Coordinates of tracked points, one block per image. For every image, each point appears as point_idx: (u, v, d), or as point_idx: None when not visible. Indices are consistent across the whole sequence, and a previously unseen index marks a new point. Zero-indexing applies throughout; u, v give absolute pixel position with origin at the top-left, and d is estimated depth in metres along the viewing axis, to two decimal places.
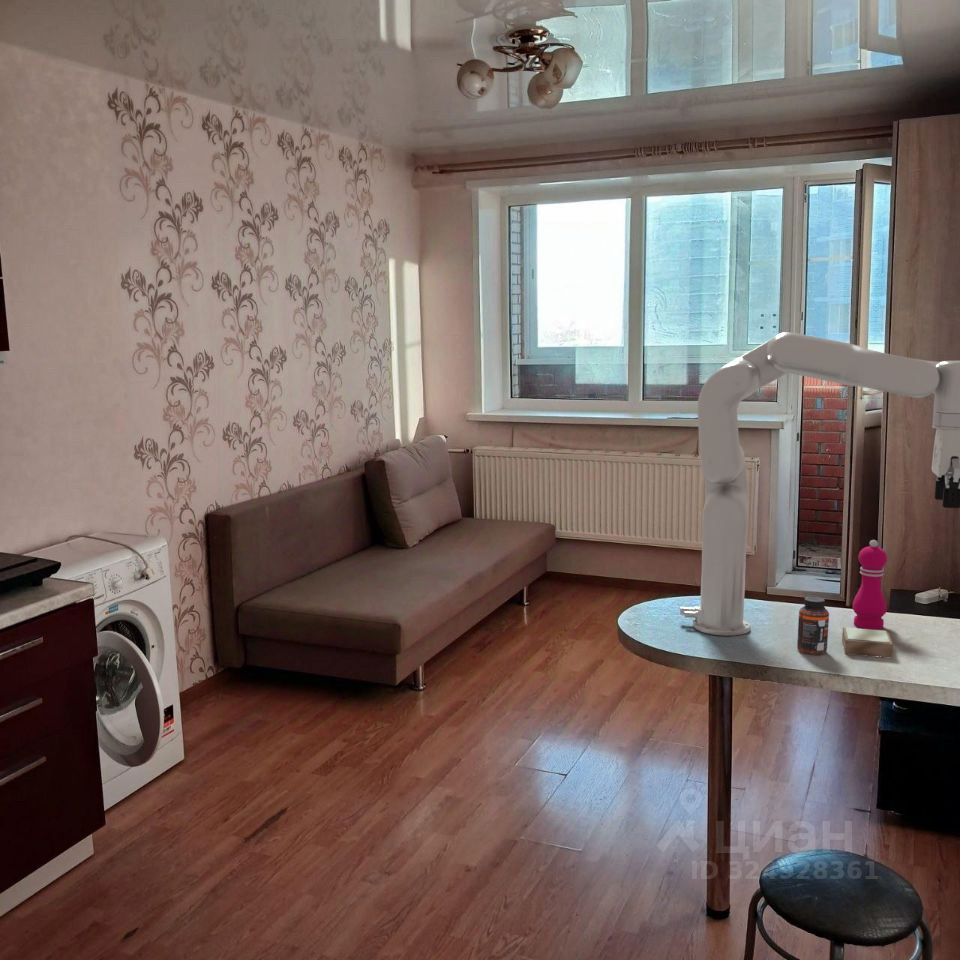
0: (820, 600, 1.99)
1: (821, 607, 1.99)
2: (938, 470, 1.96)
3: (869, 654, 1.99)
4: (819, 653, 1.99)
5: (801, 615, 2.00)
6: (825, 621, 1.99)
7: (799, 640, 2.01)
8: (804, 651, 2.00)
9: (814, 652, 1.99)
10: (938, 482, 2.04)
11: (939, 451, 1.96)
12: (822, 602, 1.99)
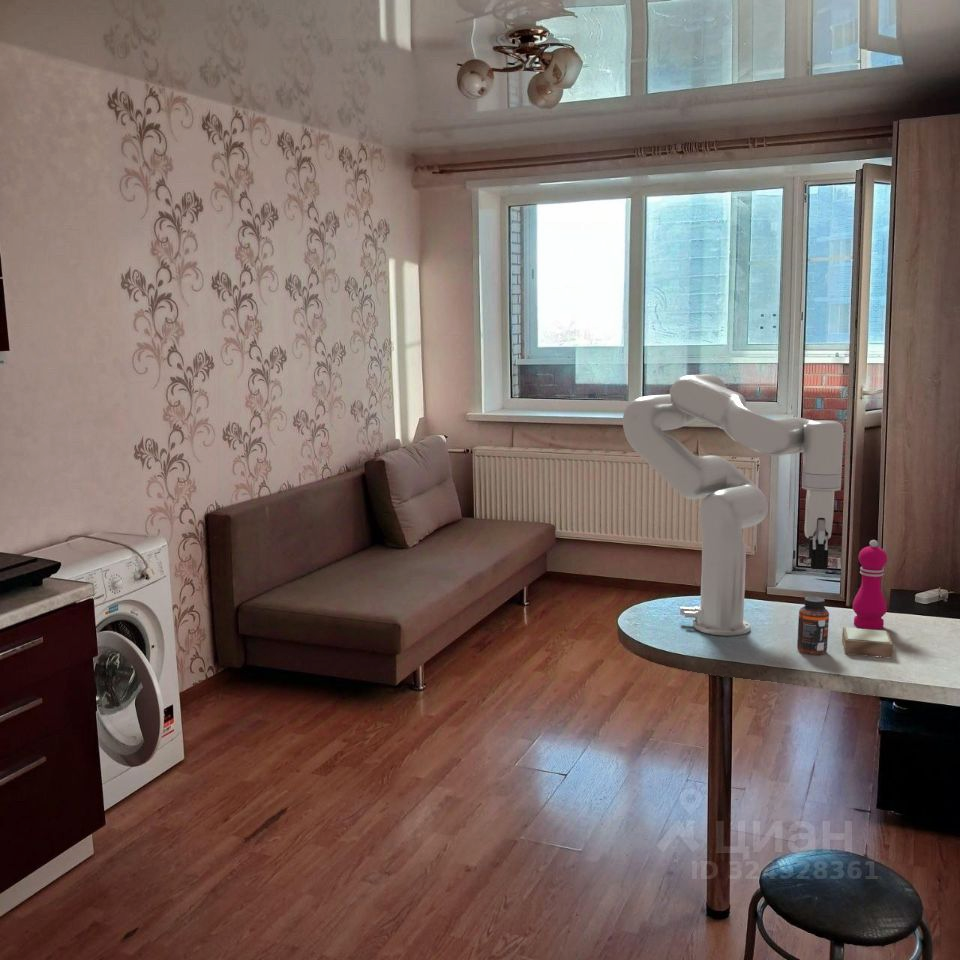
0: (820, 600, 1.99)
1: (821, 607, 1.99)
2: (806, 531, 1.95)
3: (869, 654, 1.99)
4: (819, 653, 1.99)
5: (801, 615, 2.00)
6: (825, 621, 1.99)
7: (799, 640, 2.01)
8: (804, 651, 2.00)
9: (814, 652, 1.99)
10: (811, 541, 2.03)
11: (807, 512, 1.95)
12: (822, 602, 1.99)
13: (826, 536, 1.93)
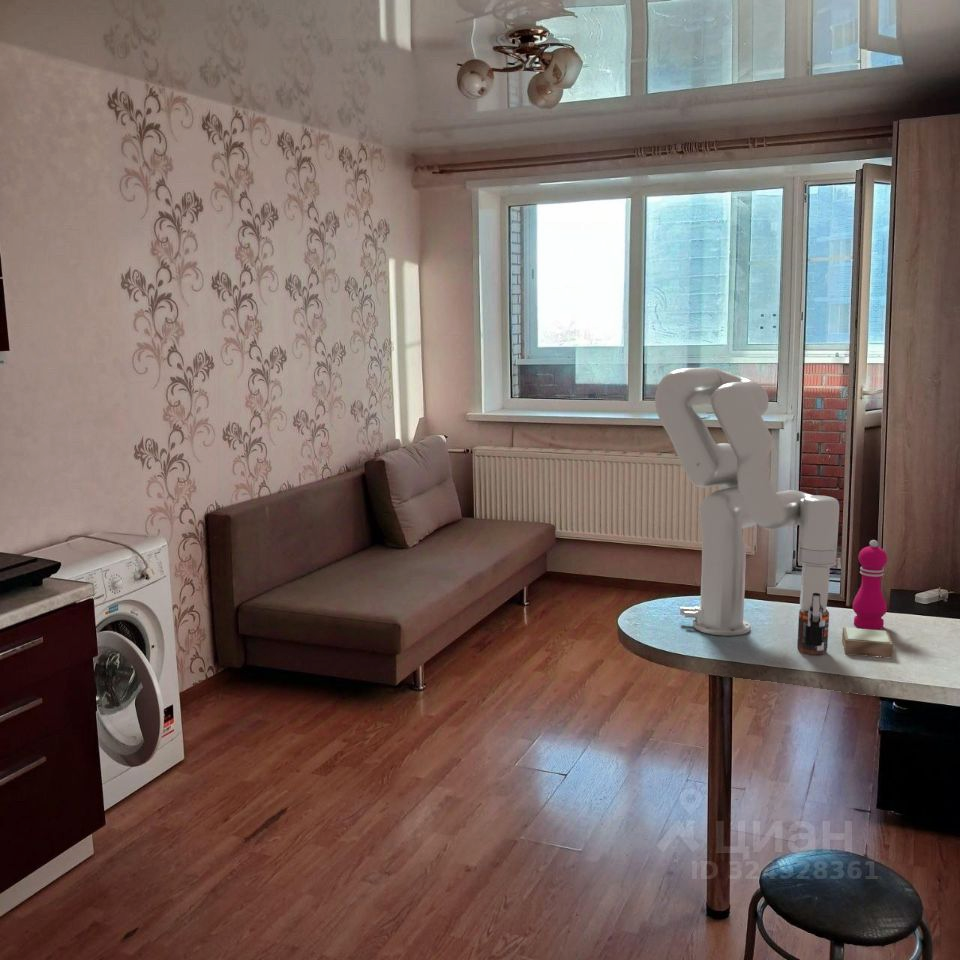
0: None
1: None
2: (801, 605, 1.97)
3: (869, 654, 1.99)
4: (819, 653, 1.99)
5: (801, 615, 2.00)
6: (825, 621, 1.99)
7: (799, 640, 2.01)
8: (804, 651, 2.00)
9: (814, 652, 1.99)
10: None
11: (802, 586, 1.97)
12: None
13: (821, 613, 1.97)
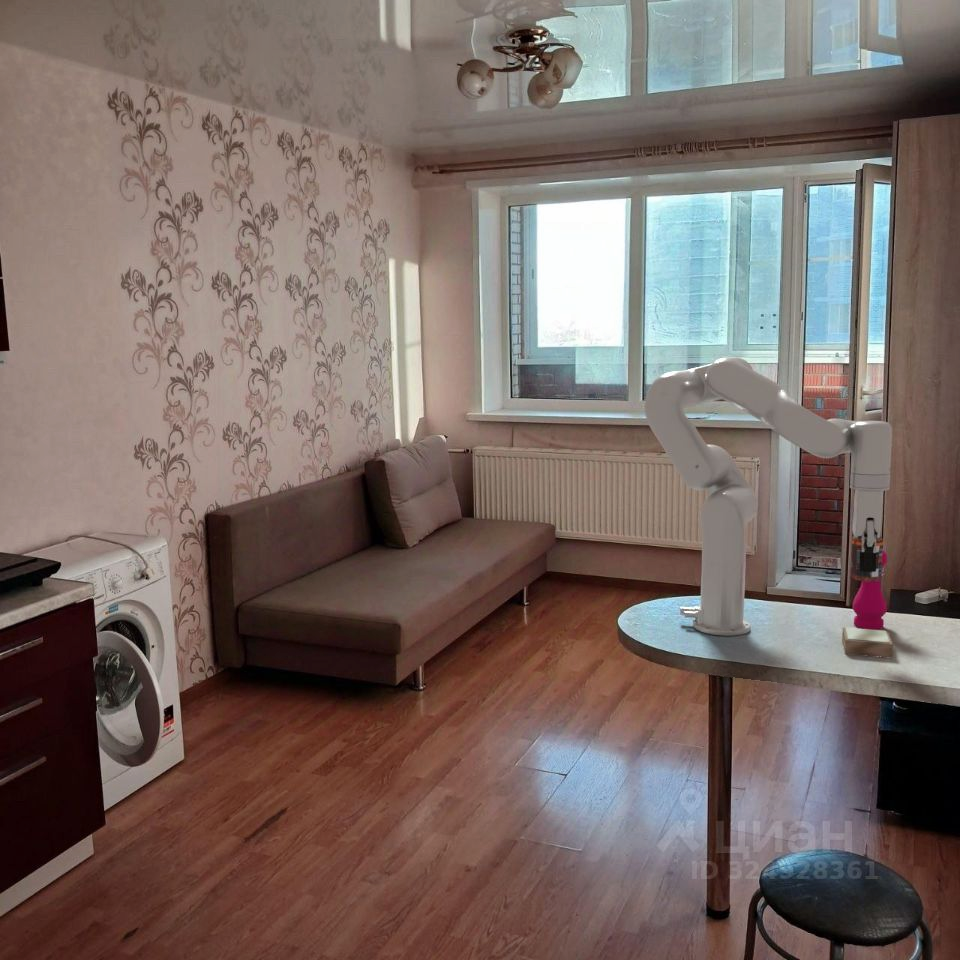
0: None
1: None
2: (855, 531, 1.96)
3: (869, 654, 1.99)
4: (874, 579, 1.98)
5: (855, 542, 1.99)
6: (879, 547, 1.97)
7: (853, 567, 2.00)
8: (858, 578, 1.99)
9: (869, 578, 1.98)
10: None
11: (855, 512, 1.96)
12: None
13: (875, 538, 1.95)
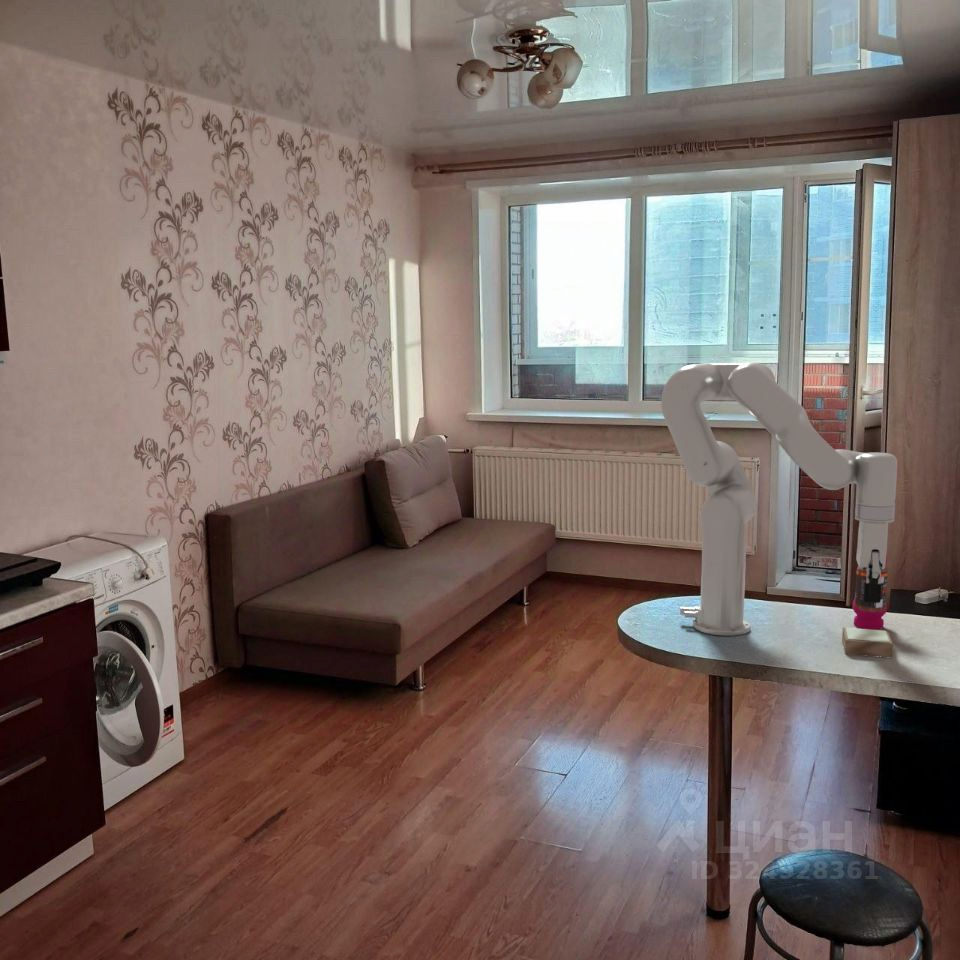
0: None
1: None
2: (860, 562, 1.97)
3: (869, 654, 1.99)
4: (878, 610, 1.99)
5: (859, 572, 2.00)
6: (884, 578, 1.98)
7: (857, 598, 2.01)
8: (862, 608, 2.00)
9: (873, 609, 1.99)
10: None
11: (860, 543, 1.97)
12: None
13: (879, 570, 1.97)
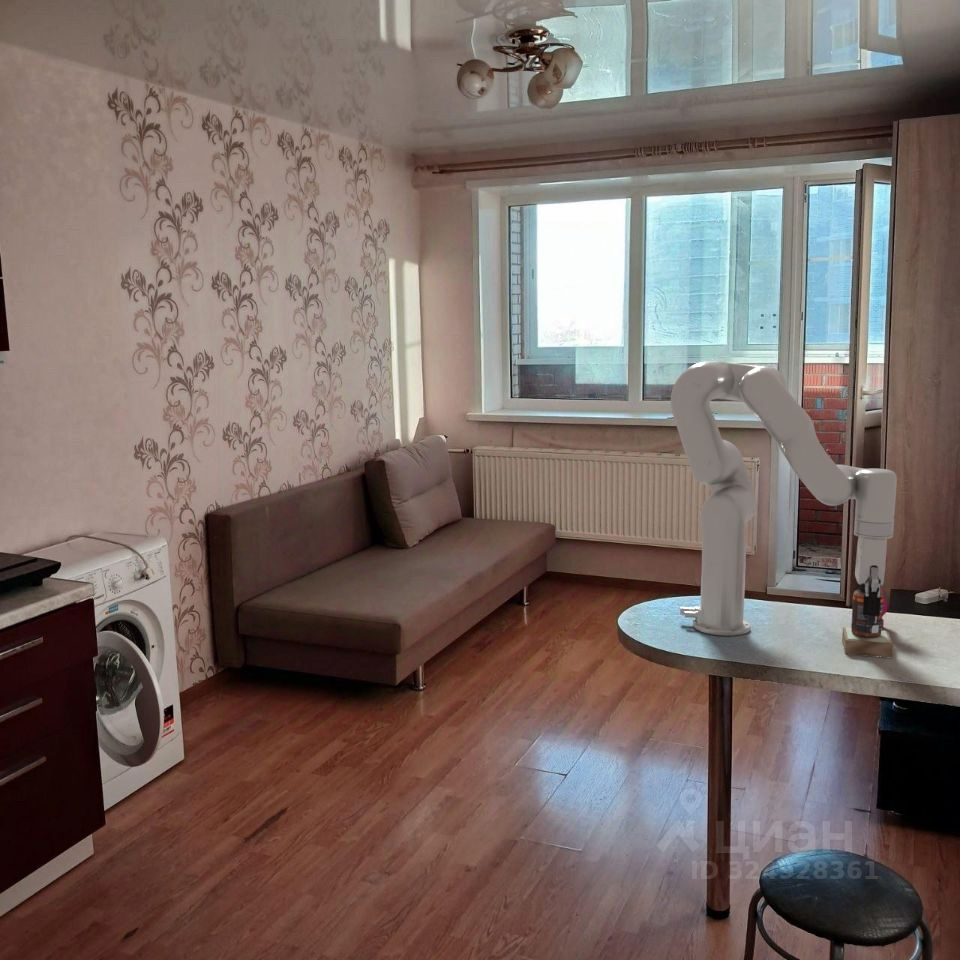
0: None
1: None
2: (858, 578, 1.98)
3: (869, 654, 1.99)
4: (874, 636, 2.00)
5: (855, 598, 2.01)
6: (880, 604, 2.00)
7: (853, 623, 2.02)
8: (858, 634, 2.01)
9: (869, 635, 2.00)
10: None
11: (859, 559, 1.98)
12: None
13: (878, 583, 1.96)
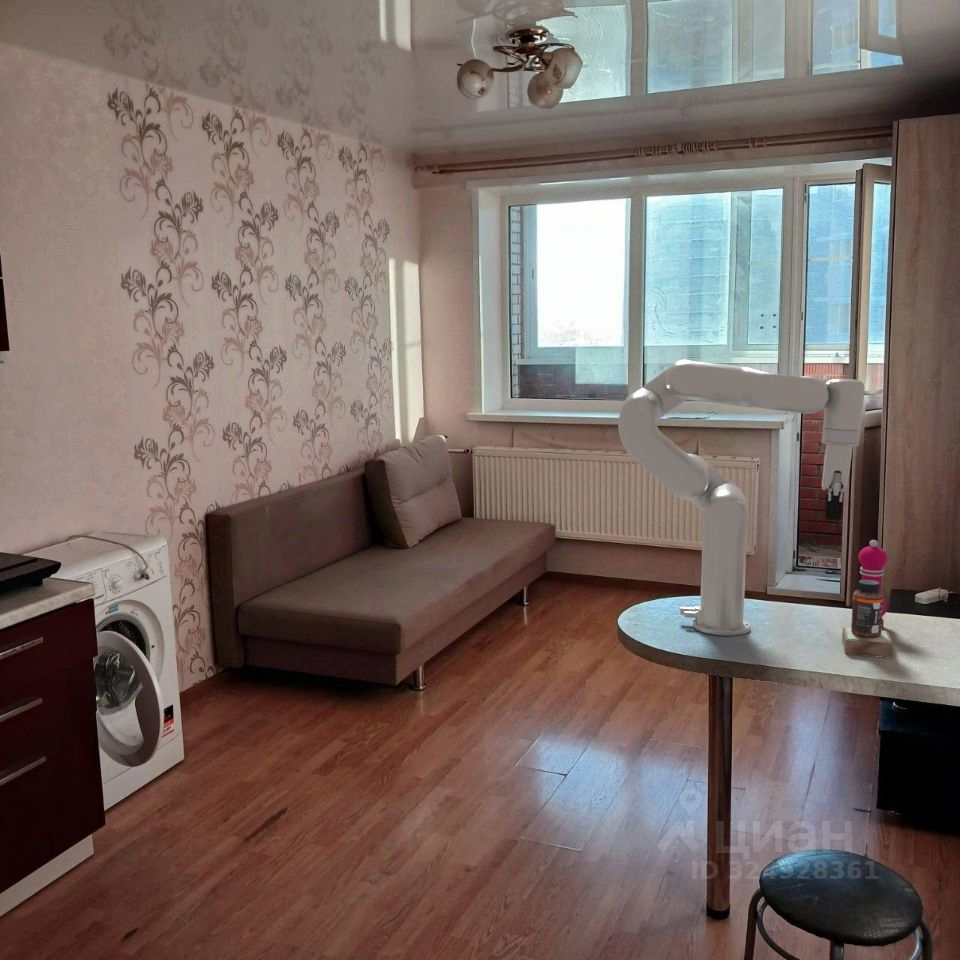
0: (875, 583, 2.00)
1: (875, 589, 2.00)
2: (822, 483, 2.05)
3: (869, 654, 1.99)
4: (874, 636, 2.00)
5: (855, 598, 2.01)
6: (880, 604, 2.00)
7: (853, 623, 2.02)
8: (858, 634, 2.01)
9: (869, 635, 2.00)
10: (828, 495, 2.13)
11: (824, 465, 2.05)
12: (877, 585, 2.00)
13: (841, 489, 2.03)
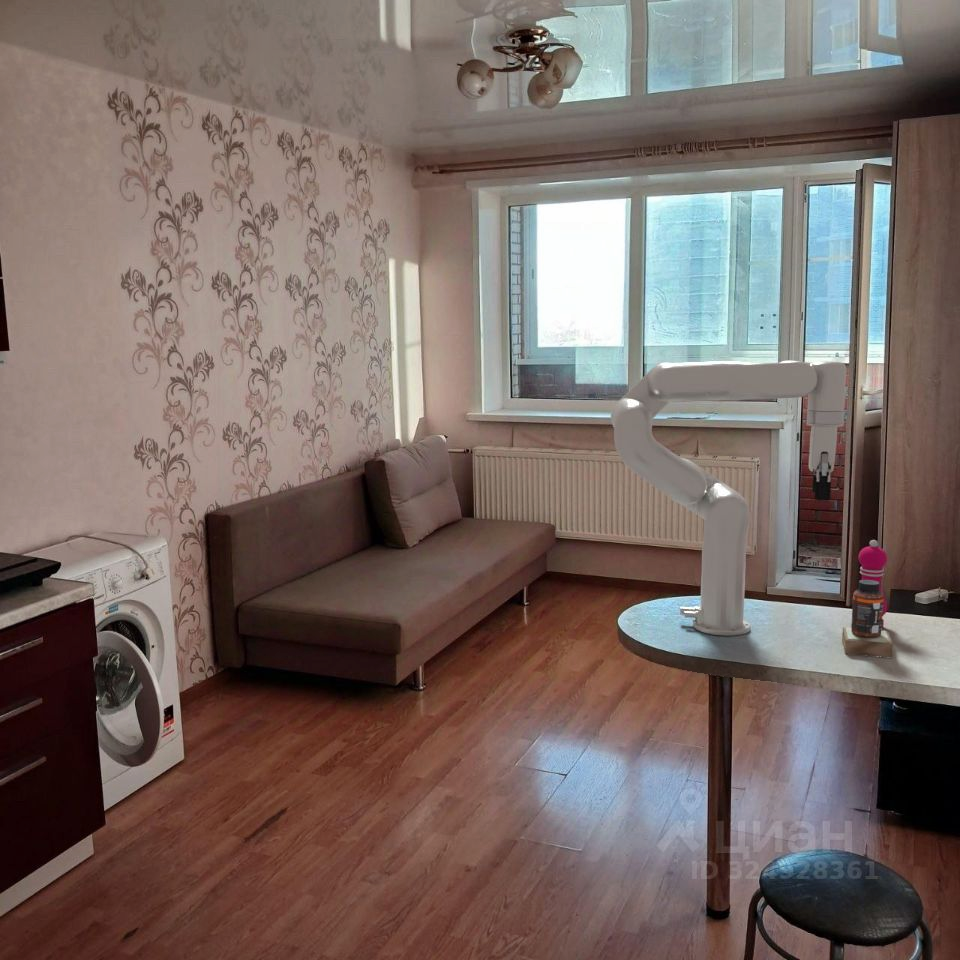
0: (875, 583, 2.00)
1: (875, 589, 2.00)
2: (810, 465, 2.08)
3: (869, 654, 1.99)
4: (874, 636, 2.00)
5: (855, 598, 2.01)
6: (880, 604, 2.00)
7: (853, 623, 2.02)
8: (858, 634, 2.01)
9: (869, 635, 2.00)
10: (815, 476, 2.16)
11: (811, 447, 2.08)
12: (877, 585, 2.00)
13: (829, 469, 2.07)
